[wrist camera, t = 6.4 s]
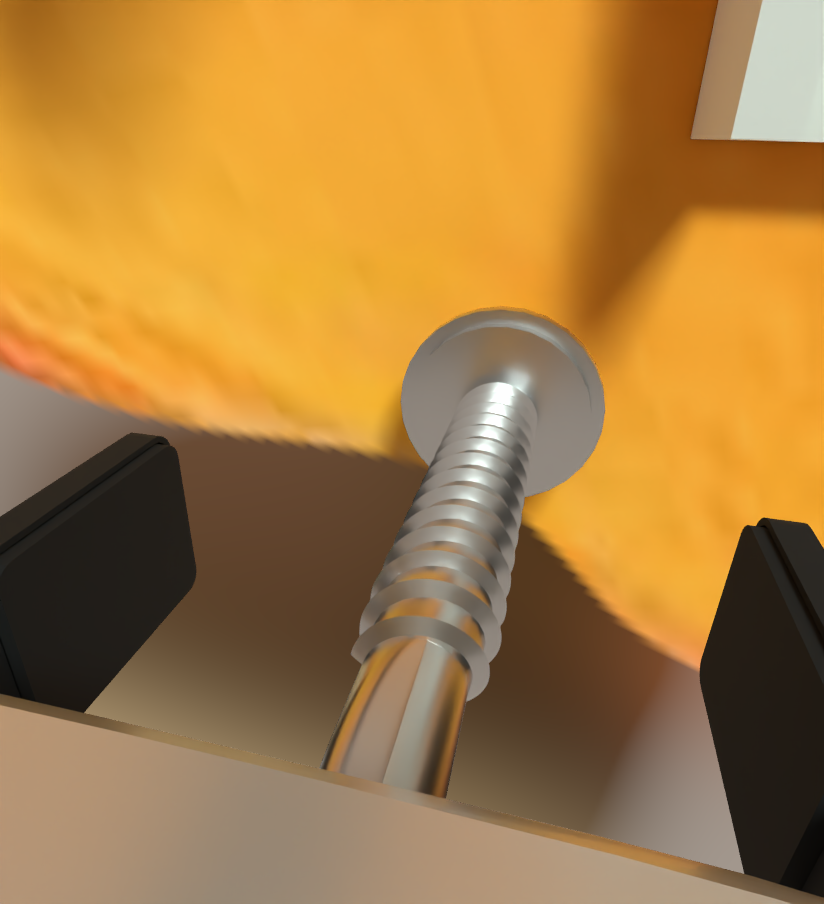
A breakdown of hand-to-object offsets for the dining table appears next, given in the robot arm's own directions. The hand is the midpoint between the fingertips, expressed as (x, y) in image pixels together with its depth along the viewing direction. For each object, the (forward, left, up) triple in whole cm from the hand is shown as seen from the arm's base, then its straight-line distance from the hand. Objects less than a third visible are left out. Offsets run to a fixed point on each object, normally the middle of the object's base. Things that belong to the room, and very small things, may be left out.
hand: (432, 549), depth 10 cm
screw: (0, 0, -8) cm, 8 cm away
